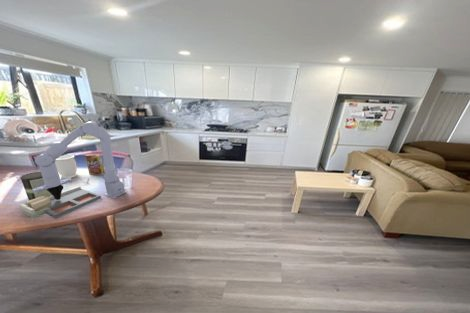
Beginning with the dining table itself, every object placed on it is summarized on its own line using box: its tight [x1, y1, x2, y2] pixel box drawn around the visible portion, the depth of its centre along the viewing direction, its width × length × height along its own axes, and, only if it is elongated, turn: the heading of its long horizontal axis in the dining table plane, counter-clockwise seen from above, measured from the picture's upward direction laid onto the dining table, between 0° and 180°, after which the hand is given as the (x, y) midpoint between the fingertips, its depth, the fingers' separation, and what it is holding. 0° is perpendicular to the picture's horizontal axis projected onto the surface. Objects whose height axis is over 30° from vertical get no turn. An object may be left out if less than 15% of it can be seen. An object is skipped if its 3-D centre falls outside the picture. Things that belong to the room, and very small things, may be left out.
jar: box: [55, 154, 78, 180], centre depth 121 cm, size 11×10×15 cm
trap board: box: [19, 185, 102, 220], centre depth 90 cm, size 20×24×4 cm
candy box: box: [84, 153, 105, 175], centre depth 127 cm, size 9×4×15 cm, turn 98°
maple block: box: [26, 196, 51, 212], centre depth 84 cm, size 6×6×4 cm
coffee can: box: [19, 170, 52, 201], centre depth 94 cm, size 10×10×14 cm
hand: (58, 199), depth 91 cm, fingers closed
